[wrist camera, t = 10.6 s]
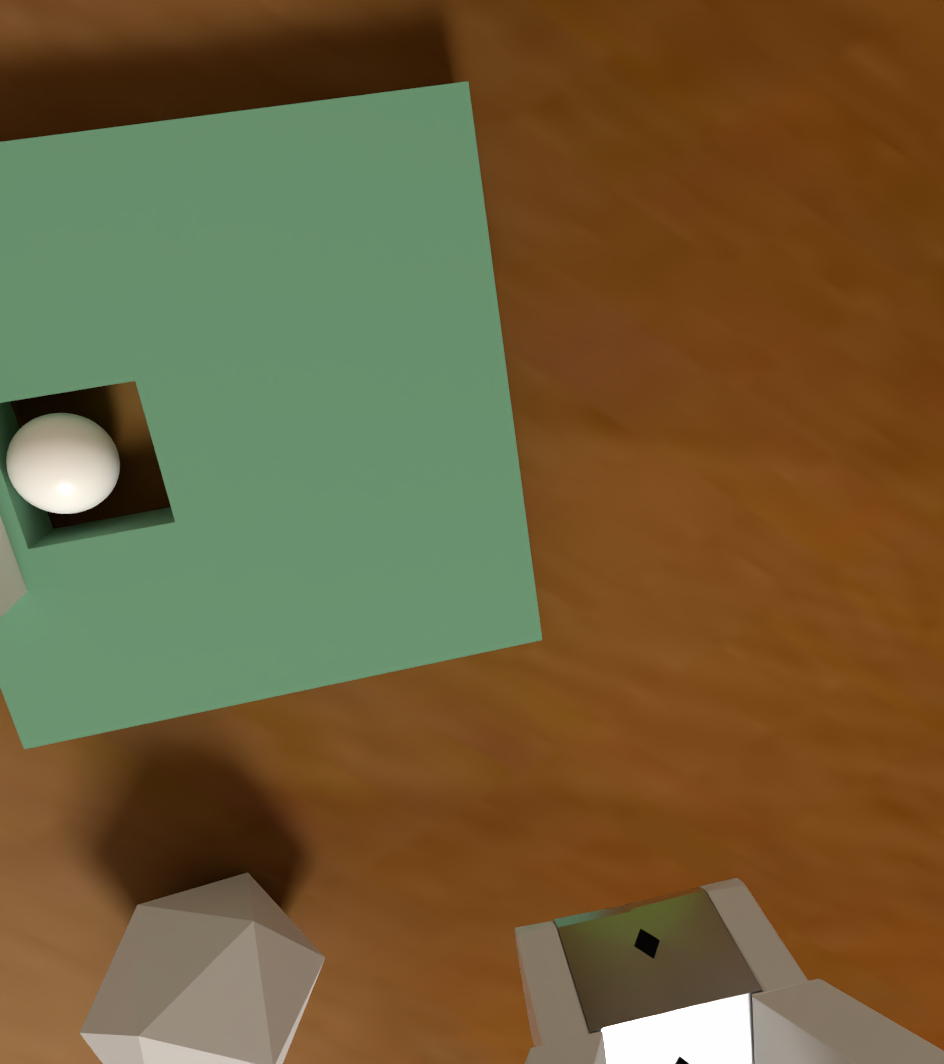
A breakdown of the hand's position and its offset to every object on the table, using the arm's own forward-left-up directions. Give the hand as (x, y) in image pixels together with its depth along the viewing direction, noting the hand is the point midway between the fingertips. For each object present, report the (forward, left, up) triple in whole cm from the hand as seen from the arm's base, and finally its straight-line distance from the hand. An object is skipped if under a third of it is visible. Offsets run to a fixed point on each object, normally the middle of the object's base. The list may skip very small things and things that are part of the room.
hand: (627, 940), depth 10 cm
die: (+13, +18, -23) cm, 32 cm away
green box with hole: (+7, -4, -23) cm, 24 cm away
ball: (+13, -4, -21) cm, 25 cm away
